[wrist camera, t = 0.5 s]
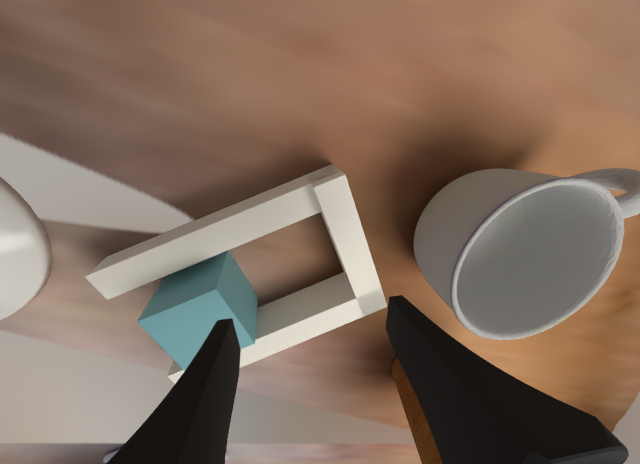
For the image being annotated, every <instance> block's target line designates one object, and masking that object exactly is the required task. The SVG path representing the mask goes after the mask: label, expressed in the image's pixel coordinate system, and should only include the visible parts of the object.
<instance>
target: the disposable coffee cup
mask: <svg viewBox="0 0 640 464" xmlns="http://www.w3.org/2000/svg"><path fill="white" fill-rule="evenodd" d="M392 375H393V377H394V380H395V383H396V386H397V389H398V392H399V395H400V398H401V401H402V404H403V407H404V410H405V413H406V417H407V420H408V423H409V426H410V429H411V432H412V434H413V438H414V441H415V444H416V447H417V450H418V453H419V456H420V459H421V462H422V464H443V463H442V460H441V457H440V455H439V452H438V449H437V446H436V444H435V441H434V438H433V436H432V433H431V430H430V428H429V425H428V423H427V420H426V418H425V415H424V412H423V410H422V407H421V405H420V403H419V401H418V399H417V396H416V394H415V392H414V390H413V388H412V386H411V384H410V382H409V380H408V378H407V376H406V374H405V372H404V370H403V368H402V366H401V364H400V362H399V360H398V358H396V359H395V361H394V362H393V365H392Z"/></svg>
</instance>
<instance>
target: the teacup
mask: <svg viewBox="0 0 640 464" xmlns="http://www.w3.org/2000/svg"><path fill="white" fill-rule="evenodd" d="M608 190H623V191H627V192H628V193H625V194H623V195H620V196H617V197H613V196H612V194H611V193H610V192H609V191H608ZM639 213H640V171H637V170H632V169H621V168H612V169H602V170H595V171H590V172H585V173H581V174H578V175H574V176H571V177H563V178H562V177H557V176H552V175H547V174H541V173H535V172H529V171H522V170H514V169H502V168H500V169H485V170H480V171H475V172H472V173H469V174H466V175H463V176H461V177H459V178H457V179H456V180H454V181H452V182H451V183H449V184H448V185H446V186H445V187H443V188H442V189H441V190H440V191H439V192H438V193H437V194H436V195H435V196H434V197H433V198H432V199H431V200H430V202H429V203H428V204H427V206H426V207H425V209H424V210H423V212H422V214H421V216H420V218H419V220H418V223H417V226H416V230H415V235H414V253H415V258H416V261H417V265H418V267H419V269H420V271H421V273H422V274H423V276H424V277H425V279H426V280H427V282H428V283H429V284H430V285H431V287H432V288H433V289H434V290H435V291H436V293H437V294H438V295H439V296H440V297H441V298H442V300H443V301H444V302H445V303H446V304H447V305H448V306H449V307H450V308H451V309H452V310H453V312H454V313H455V315H456V317H457V319H458V320H459V321H460V322H461V324H462V325H463V326H464V327H466V328H467V329H468V330H469V331H471V332H472V333H474V334H476V335H478V336H481V337H484V338H488V339H494V340H511V339H519V338H524V337H528V336H530V335H535V334H537V333H541V332H543V331H544V330H547V329H550V328H551V327H553V326H555V325H557V324H558V323H560V322H562V321H564V320H565V319H567V318H568V317H569V316H570V315H572V314H573V313H575V312H576V311H577V310H579V309H580V308H581V307H582V306H583V305H585V304H586V303H587V302H588V301H589V300H590V299H591V298H592V297H593V296H594V295H595V294H596V292H597V291H598V290H599V289H600V287H601V286H602V285H603V283H604V282H605V281H606V280H607V278H608V276H609V275H610V273H611V271H612V270H613V268H614V266H615V264H616V262H617V259H618V256H619V253H620V251H621V247H622V240H623V234H624V218H628V217H631V216H634V215H637V214H639Z"/></svg>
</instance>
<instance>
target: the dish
mask: <svg viewBox="0 0 640 464" xmlns="http://www.w3.org/2000/svg"><path fill="white" fill-rule="evenodd" d="M51 265H52V254H51V248H50V243H49V240H48V237H47V234H46V231H45V230H44V228H43V226H42V224H41V222H40V220H39V218H38V217H37V216H36V214H35V213H34V211H33V210H32V209H31V207H30V206H29V205H28V203H27V202H26V201H25V200H24V199H23V198H22V197H21V196H20V194H19V193H18V192H17V191H16V190H14V189H13V188H12V187H11V186H10V185H9V184H8V183H7V182H6V181H5V180H3V179H2V178H1V177H0V320H2V319H4V318H6V317H8V316H10V315H12V314H13V313H14V312H16V311H17V310H19V309H20V308H22V307H23V306H24V305H25V304H27V303H28V302H29V301H30V300H32V299H33V298H34V297H35V296H36V295H37V294H38V293H39V292H40V291H41V289H42V288H43V287H44V285H45V284H46V282H47V279H48V277H49V275H50V270H51Z"/></svg>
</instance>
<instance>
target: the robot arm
mask: <svg viewBox="0 0 640 464" xmlns="http://www.w3.org/2000/svg"><path fill="white" fill-rule="evenodd" d="M386 330H387V333H388V336H389V339H390V342H391V344H392V347H393V350H394V352H395V354H396V356H397V358H398V360H399V362H400V364H401V366H402V368H403V370H404V372H405V374H406V376H407V378H408V380H409V382H410V384H411V386H412V388H413V390H414V392H415V394H416V396H417V399H418V401H419V403H420V405H421V407H422V410H423V412H424V415H425V418H426V420H427V423H428V425H429V428H430V430H431V433H432V436H433V438H434V441H435V444H436V446H437V449H438V452H439V455H440V457H441V460H442V463H443V464H623V463H624V462H625V461H626V459H627V458H628V450H627V448H626V447H625V446H624V445H623V444H622V443H621V442H620V441H619V440H618V439H617V438H616V437H615V436H614V435H613V434H612V433H611V432H610V431H609V430H608V429H607V428H606V427H605V426H604V425H603V424H602V423H601V422H600V421H599V420H598V419H597V418H596V417H594V416H592V415H590V414H588V413H586V412H583V411H581V410H579V409H577V408H575V407H572V406H570V405H568V404H566V403H563V402H561V401H559V400H557V399H555V398H553V397H551V396H549V395H547V394H545V393H543V392H541V391H539V390H537V389H535V388H533V387H531V386H529V385H527V384H525V383H523V382H522V381H520V380H518V379H516V378H514V377H513V376H511V375H509V374H507V373H506V372H504V371H502V370H500V369H499V368H497V367H495V366H494V365H492V364H491V363H489V362H487V361H486V360H484V359H483V358H481V357H480V356H478V355H477V354H475V353H474V352H472V351H471V350H469V349H468V348H466V347H465V346H463V345H462V344H461V343H459V342H458V341H457V340H455V339H454V338H452V337H451V336H450V335H448V334H447V333H446V332H445V331H443V330H442V329H441V328H440V327H438V326H437V325H436V324H435V323H433V322H432V321H431V320H430V319H429V318H427V317H426V316H425V315H424V314H423V313H422V312H420V311H419V310H418V309H417V308H416V307H415V306H414V305H412V304H411V303H410V302H409V301H408V300H407V299H405V298H404V297H403V296H402V295H400V296H393V297H389V305H388V313H387V322H386ZM240 353H241V348H240V345H239V341H238V337H237V334H236V330H235V326H234V323H233V319H232V318H229V319H222V320H218V321H217V322H216V323H215V325H214V326H213V328H212V330H211V331H210V333H209V335H208V336H207V338H206V340H205V341H204V343H203V344H202V346H201V348H200V349H199V351H198V352H197V354H196V355H195V357H194V358H193V360H192V361H191V363H190V364H189V366H188V367H187V369H186V370H185V371H184V373H183V374H182V375H181V377H180V378H179V380H178V381H177V382H176V384H175V385H174V387H173V388H172V389H171V390H170V392H169V393H168V394H167V396H166V397H165V398H164V399H163V401H162V402H161V403H160V404H159V406H158V407H157V408H156V409H155V410H154V412H153V413H152V414H151V415H150V416H149V418H148V419H147V420H146V421H145V422H144V423H143V424H142V426H141V427H140V428H139V429H138V430H137V431H136V432H135V433H134V435H133V436H132V437H131V438H130V439H129V440H128V441H127V442H126V443H125V444H124V445H123V446H122V448H121V449H119V450H117V451H114V452H112V453H109V454H107V455H105V457H104V459H103V462H104V463H105V464H225V460H226V459H227V453H226V446H227V438H228V431H229V426H230V421H231V414H232V409H233V404H234V399H235V394H236V388H237V382H238V377H239V368H240Z"/></svg>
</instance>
